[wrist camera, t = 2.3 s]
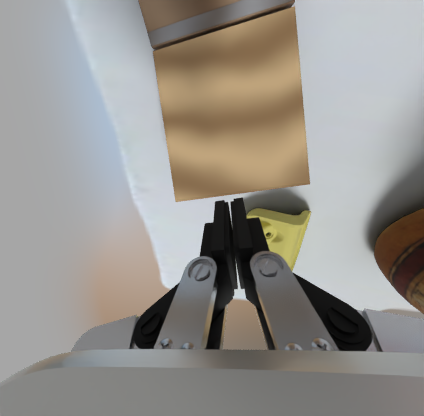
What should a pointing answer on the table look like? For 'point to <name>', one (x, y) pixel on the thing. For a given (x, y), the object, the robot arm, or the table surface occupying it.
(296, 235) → the plastic component
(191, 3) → the walnut board
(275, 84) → the oak plank
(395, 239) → the ceramic pitcher
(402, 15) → the table surface
